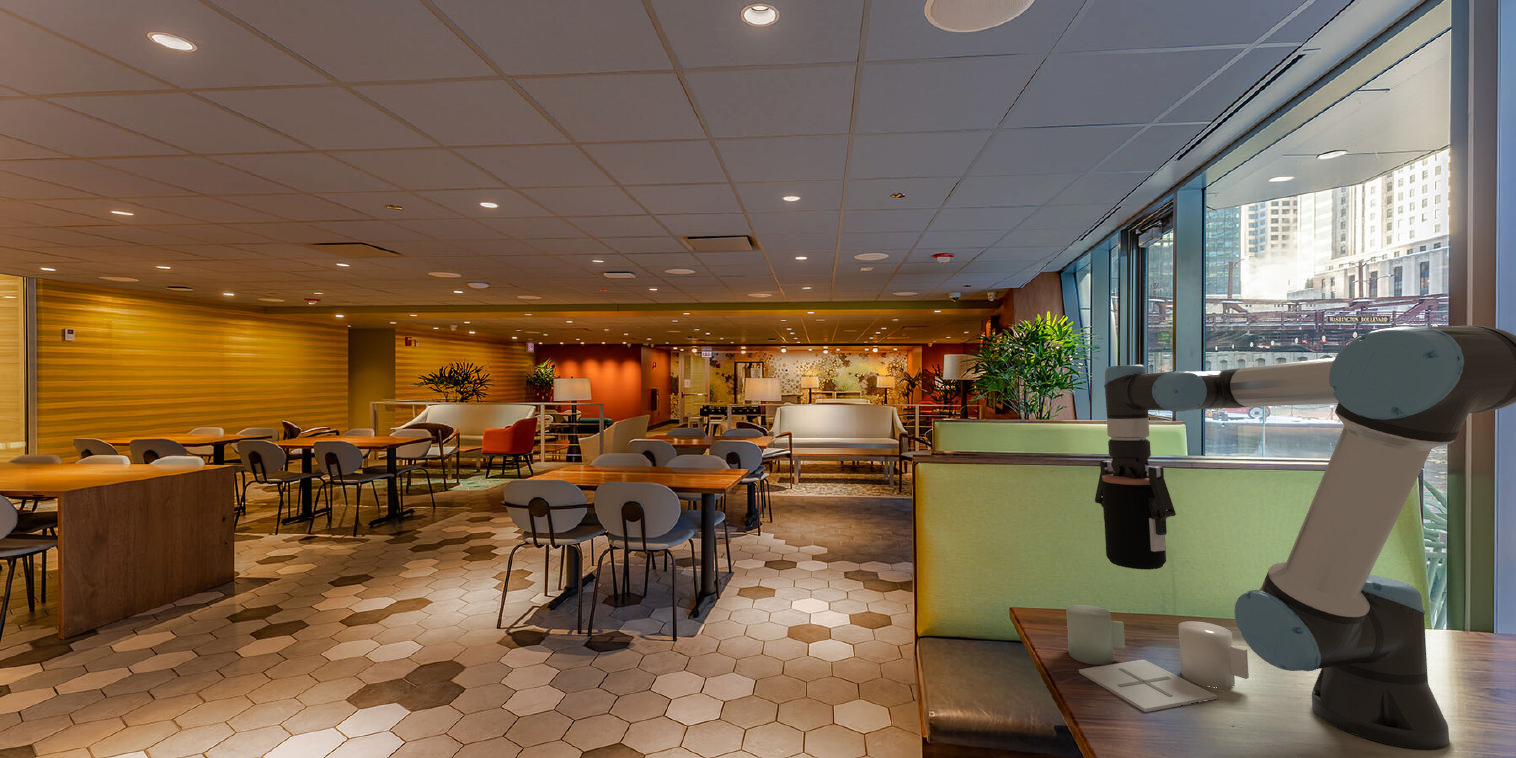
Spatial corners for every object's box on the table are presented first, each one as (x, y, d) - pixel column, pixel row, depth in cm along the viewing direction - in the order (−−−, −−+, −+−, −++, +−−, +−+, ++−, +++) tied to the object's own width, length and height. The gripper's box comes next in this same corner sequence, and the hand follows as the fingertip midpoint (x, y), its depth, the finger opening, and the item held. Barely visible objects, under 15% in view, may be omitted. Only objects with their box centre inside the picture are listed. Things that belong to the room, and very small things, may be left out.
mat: (1217, 699, 104) (1217, 695, 104) (1145, 712, 101) (1144, 708, 101) (1144, 662, 118) (1143, 658, 118) (1079, 672, 115) (1078, 669, 115)
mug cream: (1173, 676, 113) (1170, 627, 113) (1192, 664, 117) (1189, 618, 117) (1239, 698, 104) (1236, 645, 104) (1257, 684, 108) (1254, 634, 109)
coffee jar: (1179, 569, 120) (1173, 479, 120) (1125, 571, 120) (1120, 481, 121) (1145, 555, 130) (1140, 472, 131) (1096, 557, 131) (1091, 474, 131)
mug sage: (1072, 662, 120) (1070, 617, 120) (1065, 646, 127) (1063, 603, 127) (1131, 667, 117) (1128, 621, 117) (1119, 650, 124) (1117, 606, 124)
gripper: (1194, 440, 116) (1201, 556, 115) (1101, 434, 138) (1106, 531, 137) (1161, 442, 114) (1168, 559, 113) (1073, 436, 137) (1078, 533, 136)
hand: (1134, 544), depth 125 cm, fingers closed on coffee jar, 11 cm apart
